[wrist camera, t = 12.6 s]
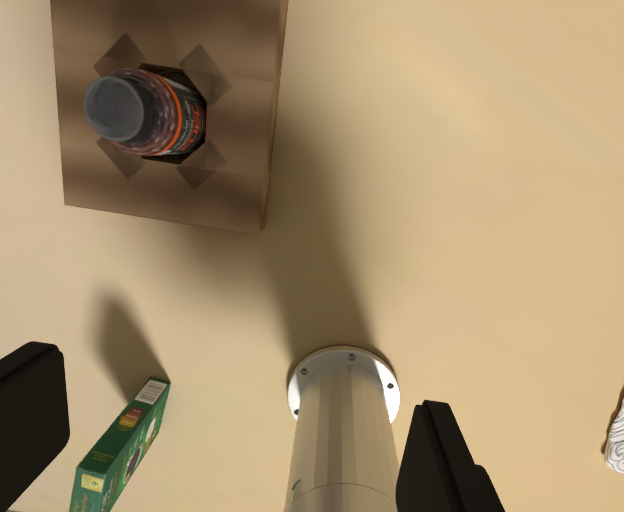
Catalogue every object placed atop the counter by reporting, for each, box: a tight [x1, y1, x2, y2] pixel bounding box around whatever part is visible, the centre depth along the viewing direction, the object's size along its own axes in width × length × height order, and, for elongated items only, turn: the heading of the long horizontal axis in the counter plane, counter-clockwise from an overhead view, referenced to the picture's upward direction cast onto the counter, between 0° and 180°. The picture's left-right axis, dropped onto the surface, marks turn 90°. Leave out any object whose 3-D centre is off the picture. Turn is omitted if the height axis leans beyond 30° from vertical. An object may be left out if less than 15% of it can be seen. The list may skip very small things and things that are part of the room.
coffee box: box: [69, 377, 171, 512], centre depth 38 cm, size 8×3×13 cm, turn 162°
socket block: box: [50, 0, 288, 235], centre depth 32 cm, size 21×18×4 cm
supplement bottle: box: [83, 68, 207, 156], centre depth 29 cm, size 6×6×11 cm
